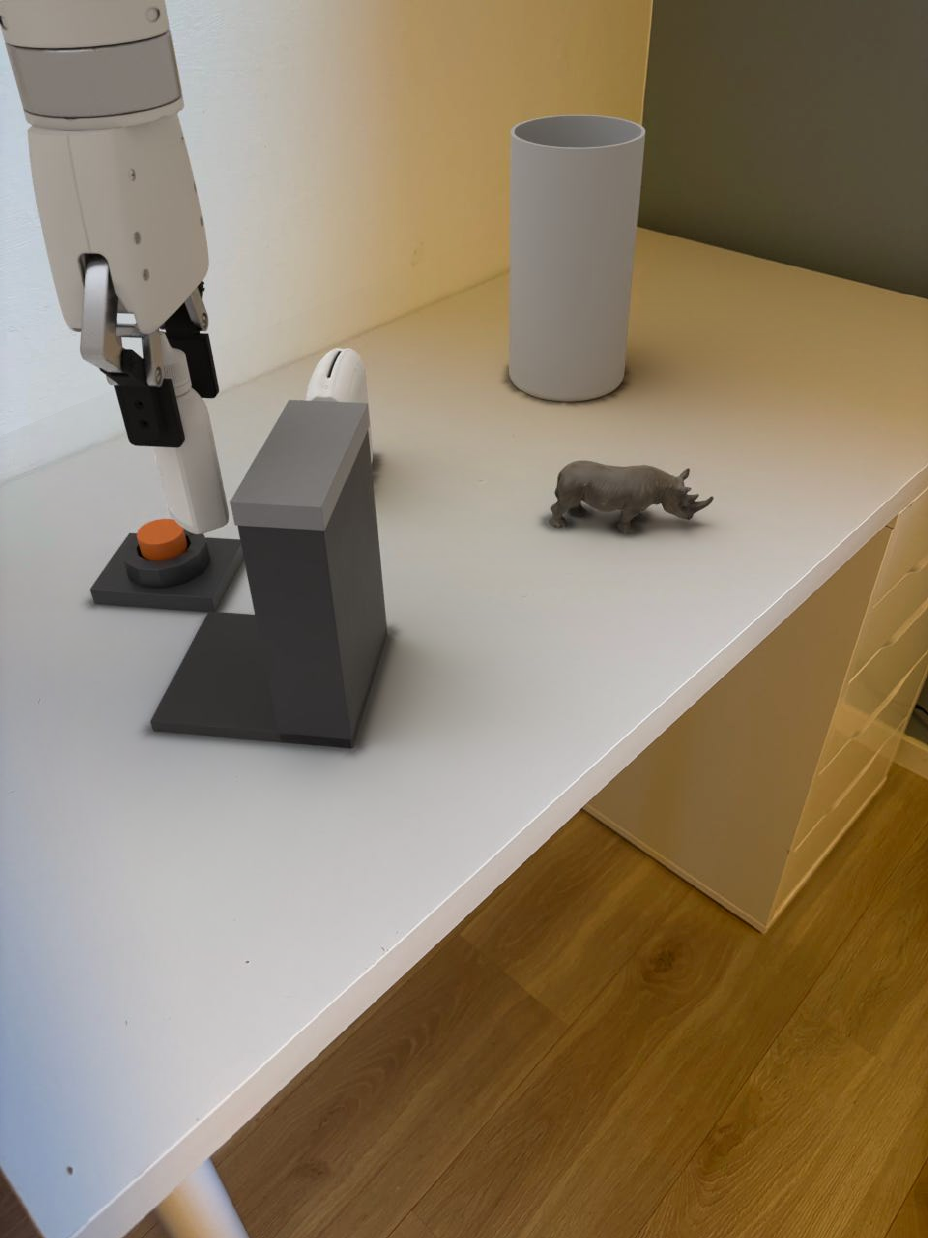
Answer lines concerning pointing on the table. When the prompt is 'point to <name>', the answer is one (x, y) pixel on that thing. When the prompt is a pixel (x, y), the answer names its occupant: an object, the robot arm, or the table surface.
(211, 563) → the control pad
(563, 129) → the cylinder vase
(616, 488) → the rhino figurine
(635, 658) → the table surface
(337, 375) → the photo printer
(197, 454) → the eye dropper bottle
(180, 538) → the button
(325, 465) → the coffee maker
